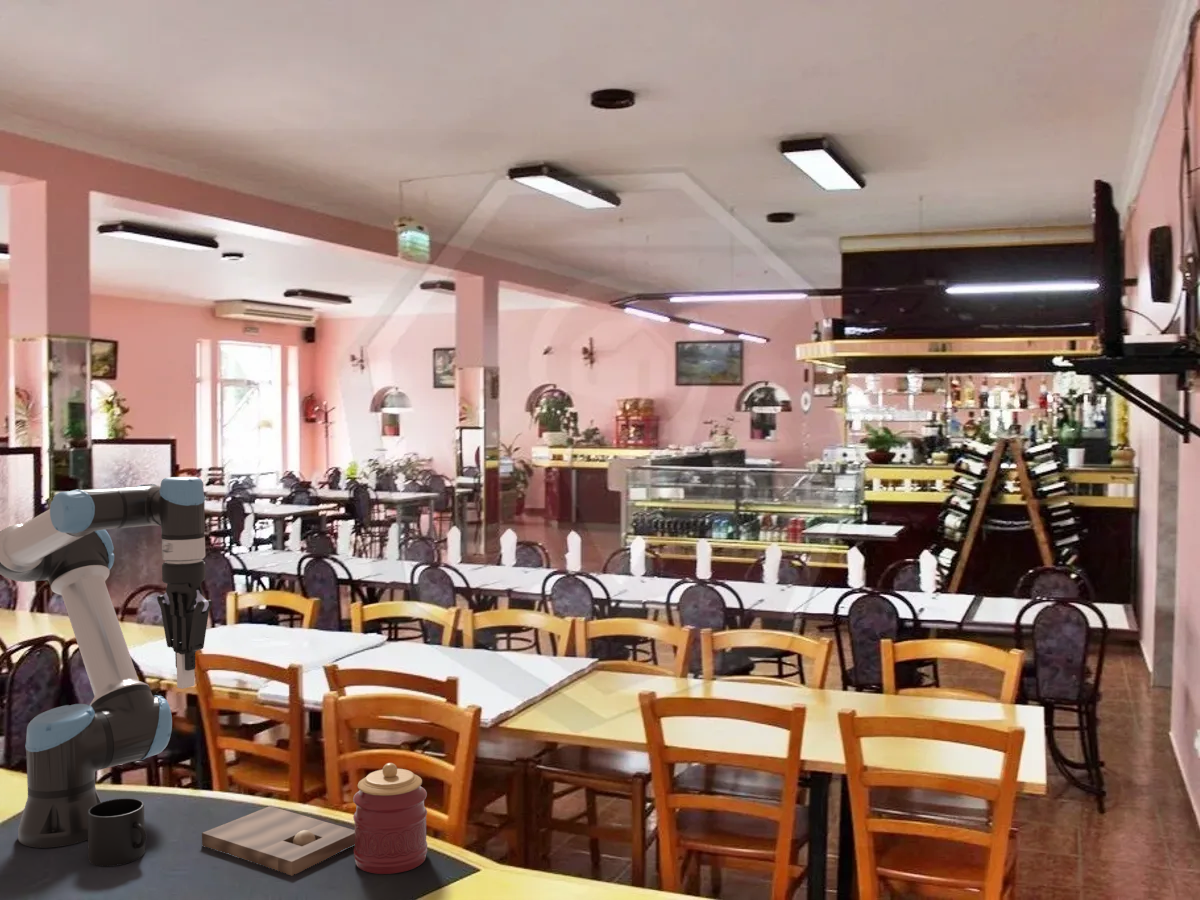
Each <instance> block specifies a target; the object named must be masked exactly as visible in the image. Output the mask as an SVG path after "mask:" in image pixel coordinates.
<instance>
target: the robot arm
mask: <svg viewBox="0 0 1200 900" xmlns="http://www.w3.org/2000/svg"><path fill="white" fill-rule="evenodd" d="M204 490H205V489H204V482H203V480H202V478H200V477H196V476H171V477H165V478H163V479H162V480H161V482H160V485H157V484H153V483H149V484H139V485H136V486H127V487H126V486H125V487H116V488H115V487H112V488H97V489H72V490H70V491H69V490H67V491H60V492H58V493H56V494H55V495H54V496H53V498H52V501H50V506H49V509H47V510H45V511H44V512H42V513H40V514H38V515H36V516H35V517H33V518H32V519H30V520H28V521H26V522H24V523H20V524H18V523H17V524H12V525H9V526H7V527H5V528H3V529H1V530H0V575H1V576H2V577H4V578H6V579H9V580H11V581H15V582H22V583H30V582H41V581H48V583H49V587H50V589H51V591H52V592H53V593H55V594H57V595H59V596H62V600H63V603H64V606H65V610H66V612H67V614H68V618H69V622H70V624H71V627H72V628H71V629H72V631H73V634H74V637H75V641H76V643H77V646H78V649H79V652H80V654H81V658H82V663H83V665H84V668H85V671H86V674H87V677H88V681H89V683H90V687H91V690H92V692H93V696H94V697H93V699H92V700H91V702H90V703H89V704H86V703H75V704H71V705H69V704H64V705H62V706H57V707H53V708H51V709H48V710H46V711H44V712H41V713H39V714H37V715H36V716H35V717H34V718H32V719H31V720H30V722H28V724H27V726H26V738H25V739H26V740H25V744H24V746H25V747H24V748H25V752H26V754H25V755H26V776H27V777H26V778H27V779H26V782H27V784H26V785H27V798H26V803H25V805H24V809H23V812H22V815H21V819H20V821H19V824H18V829H17V830H18V831H17V832H18V833H17V834H18V838H17V839H18V842H19V844H21V845H23V846H26V847H30V848H43V849H44V848H58V847H65V846H71V845H74V844H78V843H81V842H85V841H88V820H87V812H88V810H89V808H91V807H92V806H94V805H96V804H98V803H101V802H102V801H101V799H100V796H99V794H98V791H97V788H96V772H97V771H101V770H105V769H108V768H113V767H117V766H121V765H124V764H128V763H132V762H136V761H142V760H145V759H147V758H151V757H153V756H156V755H159V754H160V753H162V752H163V751H164V750H165V749H166V747H167V746H168V744H169V742H170V740H171V739H170V738H171V734H172V729H173V717H172V710H171V707H170V704H169V702H168V700H167V699H166V698H165V697H164V696H162V695H157V694H155V695H153V694H152V691H151V687H150V685H149V684H148V683H146V682H143V681H140V680H139V677H138V674H137V672H136V669H135V665H134V663H133V659H132V657H131V654H130V651H129V648H128V646H127V642H126V640H125V637H124V634H123V630H122V627H121V625H120V621H119V619H118V616H117V612H116V609H115V607H114V604H113V602H112V599H111V596H110V593H109V591H108V587H107V584H106V581H107V580H108V578H109V576H110V573H111V572H110V570H111V569H112V567H113V566H114V562H115V553H114V550H115V547H114V544H113V541H112V537H111V535H110V534H109V533H108V531H107V530H112V529H113V530H114V529H126V528H137V527H148V526H157V527H158V526H160V530H161V531H160V533H161V534H160V535H161V536H160V537H161V560H163V561H164V562H162V564H161V580H162V583H164V584H166V587H165V592H164V594H162V595H157V597H156V600H157V603H158V605H159V607H160V611H161V617H162V624H163V631H164V635H165V641H166V646H167V648H172V651H173V652H175V654H174V655H175V657H174V658H175V669H176V688H178V689H186V688H191V687H194V686H195V682H196V681H195V680H196V679H195V669H196V652H197V651H200V650H202V649H204V648H205V647H204V646H205V641H206V633H207V627H208V620H209V619H208V618H209V614H210V610H211V608H212V607H213V601H212V600H211V599H206V598H205V597H204V596H203V589H202V583H203V582H204V581H205V579H206V562H205V561H204V560H203V559H205V558H206V537H205V530H206V528H205V527H206V526H205V525H206V523H205V520H206V519H205V516H206V515H205V507H206V506H205V504H206V503H205V501H206V497H205V494H204V493H205V492H204Z"/></svg>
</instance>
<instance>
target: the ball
mask: <svg viewBox="0 0 1200 900" xmlns="http://www.w3.org/2000/svg"><path fill="white" fill-rule="evenodd" d="M315 840H316V839H315V836H314V834H313V833H312V832H310V831H308V830H303V831H300V832H298V833H297V834H296V835H295V837H294V839H293V844H295V845H299V846H304V845H307V844H309V843H311V842H313V841H315Z"/></svg>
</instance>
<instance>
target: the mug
mask: <svg viewBox="0 0 1200 900" xmlns="http://www.w3.org/2000/svg"><path fill="white" fill-rule="evenodd" d="M87 820H88V840H87V849H88V852H87V853H88V854H87V855H88V857H87V858H88V862H89V863H90V864H91V865H93V866H96V867H117V866H122V865H125V864H129V863H132V862H134V861H136V860H138V859H141V858H142V857H143V855H144V854H145V852H146V843H147V832H146V830H145V825H146V824H145V821H146V820H145V803H144V801H142V800H140V799H137V798H125V797H124V798H115V799H109V800H105V801H101V803H98V804H96V805H94V806H92V807H91V808H89V810H88V812H87Z"/></svg>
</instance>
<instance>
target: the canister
mask: <svg viewBox="0 0 1200 900" xmlns="http://www.w3.org/2000/svg"><path fill="white" fill-rule="evenodd" d="M422 784H423V779H422V778H421V776H419V775H417V774H415V773H414V772H412V771H411V770H408V769H405V768H404V769H403V768H398V767H397V765H396V764H395V763H393V762H387V763H385V764H384V765H383V767H382V769H378V770H375V771H372V772H369V773H368V774H367V775H366V777H363V778H362V779H360V780H359V781H358V784H357V789H359V790H358V791H357V792H356V793H355V794H354V795H353V798H352V801H353V803H354V804H355V805H356V809H355V810H356V811H355V812H354V814H353V817H352V818H353V821H354V830H355V846H354V847H353V857H354V861H355V865H356V867H357V868H358V869H360V870H361V871H364V872H367V873H369V874H378V875H379V874H380V875H391V874H399V873H400V874H401V873H405V872H407V871H410V870H413V869H416V868H417V867H419V866H421V865H422V864H423V863H424V862H425V861H426V859H427V853H428V841H427V815H428V809H427V808H426V807H425V800H426V798H427V795H428V792H427V790H426V789H425V787H422V786H421V785H422Z"/></svg>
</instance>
